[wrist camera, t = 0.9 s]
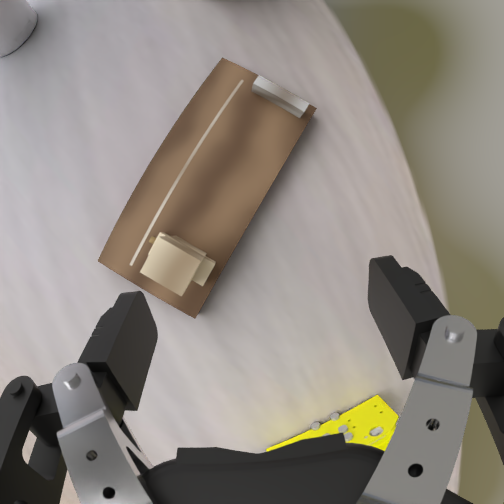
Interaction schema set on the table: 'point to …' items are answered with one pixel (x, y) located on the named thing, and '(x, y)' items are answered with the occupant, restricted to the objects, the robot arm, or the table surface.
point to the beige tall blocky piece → (176, 263)
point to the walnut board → (208, 177)
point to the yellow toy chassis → (356, 425)
